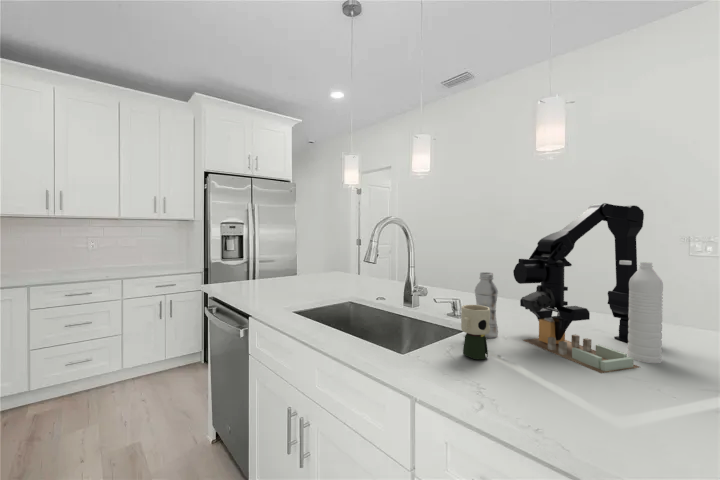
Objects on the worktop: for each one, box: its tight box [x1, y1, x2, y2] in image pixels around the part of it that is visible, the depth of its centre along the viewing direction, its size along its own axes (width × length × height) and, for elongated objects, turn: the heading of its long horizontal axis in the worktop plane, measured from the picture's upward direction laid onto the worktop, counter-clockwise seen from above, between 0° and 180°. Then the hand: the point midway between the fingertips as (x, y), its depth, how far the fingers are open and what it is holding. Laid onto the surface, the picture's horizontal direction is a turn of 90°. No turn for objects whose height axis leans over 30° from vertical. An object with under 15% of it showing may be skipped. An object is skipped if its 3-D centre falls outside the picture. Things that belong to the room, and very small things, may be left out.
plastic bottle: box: [474, 272, 499, 339], centre depth 104 cm, size 6×7×20 cm
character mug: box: [460, 304, 490, 360], centre depth 89 cm, size 11×7×13 cm, turn 133°
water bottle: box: [619, 260, 664, 364], centre depth 86 cm, size 9×6×25 cm
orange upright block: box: [538, 317, 566, 344], centre depth 96 cm, size 5×4×6 cm
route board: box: [522, 333, 640, 374], centre depth 89 cm, size 12×24×4 cm, turn 16°
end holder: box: [572, 344, 634, 371], centre depth 82 cm, size 9×8×2 cm
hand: (551, 337), depth 96 cm, fingers closed on orange upright block, 4 cm apart
